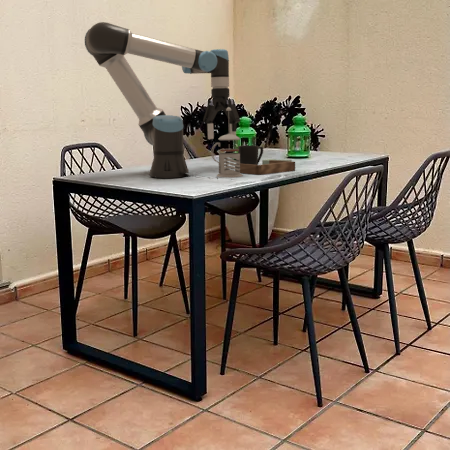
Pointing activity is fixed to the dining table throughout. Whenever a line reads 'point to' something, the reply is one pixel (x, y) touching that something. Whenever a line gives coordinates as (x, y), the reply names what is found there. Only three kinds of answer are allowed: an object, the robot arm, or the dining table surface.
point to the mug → (250, 154)
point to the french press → (224, 170)
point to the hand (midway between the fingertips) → (221, 139)
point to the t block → (271, 159)
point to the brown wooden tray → (268, 167)
